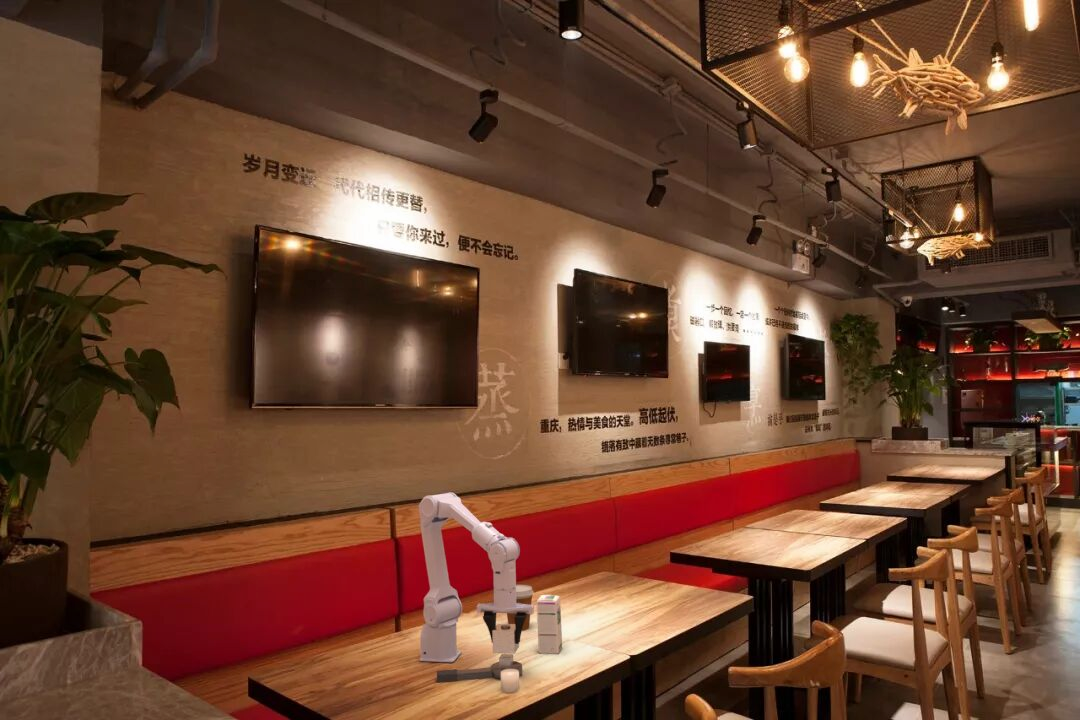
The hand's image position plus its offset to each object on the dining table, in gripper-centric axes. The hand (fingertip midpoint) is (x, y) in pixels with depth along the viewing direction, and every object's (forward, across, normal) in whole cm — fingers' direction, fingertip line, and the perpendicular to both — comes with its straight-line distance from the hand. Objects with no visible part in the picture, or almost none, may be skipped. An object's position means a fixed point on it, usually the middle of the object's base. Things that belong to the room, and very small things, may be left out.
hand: (505, 642), depth 178 cm
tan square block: (+2, 0, 0) cm, 2 cm away
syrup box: (+8, -8, -19) cm, 22 cm away
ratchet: (+8, +6, +2) cm, 10 cm away
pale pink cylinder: (+8, -3, +9) cm, 12 cm away
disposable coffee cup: (+8, +5, -38) cm, 39 cm away
